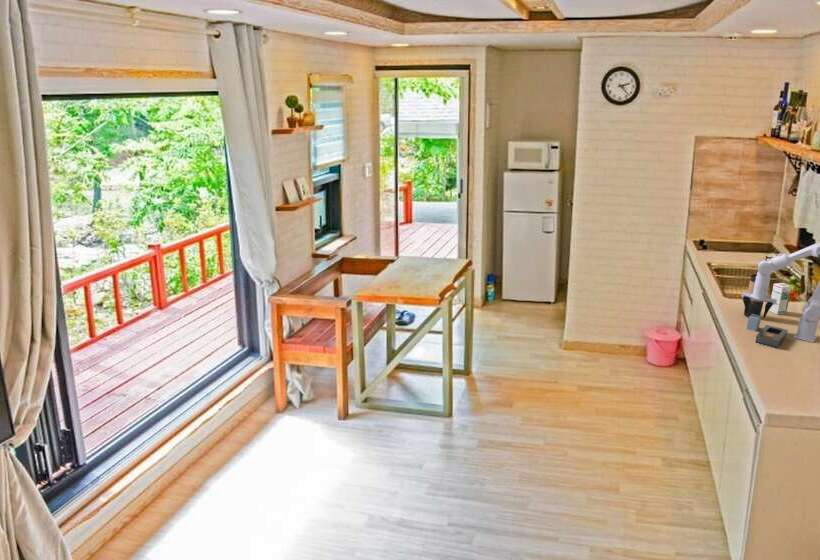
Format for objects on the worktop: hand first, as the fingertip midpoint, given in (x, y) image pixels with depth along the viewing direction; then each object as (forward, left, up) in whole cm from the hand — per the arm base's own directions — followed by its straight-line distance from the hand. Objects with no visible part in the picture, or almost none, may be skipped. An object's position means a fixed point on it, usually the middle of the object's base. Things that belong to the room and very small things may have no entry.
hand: (755, 315), depth 333 cm
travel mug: (-19, -5, -7) cm, 21 cm away
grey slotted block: (+10, +10, -7) cm, 16 cm away
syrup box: (-35, +3, -7) cm, 36 cm away
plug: (0, 0, -7) cm, 7 cm away
